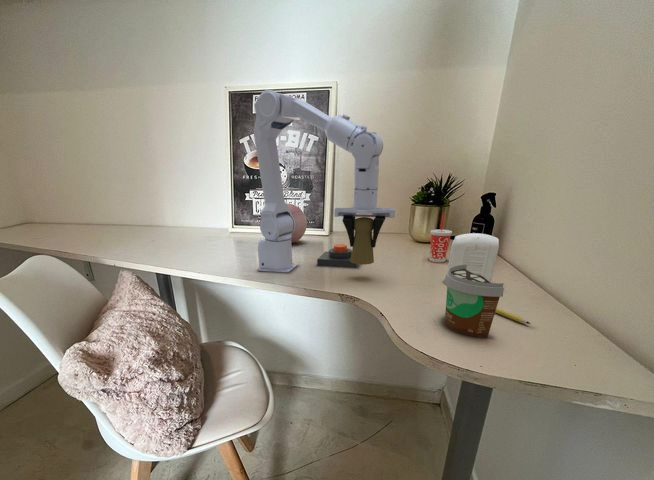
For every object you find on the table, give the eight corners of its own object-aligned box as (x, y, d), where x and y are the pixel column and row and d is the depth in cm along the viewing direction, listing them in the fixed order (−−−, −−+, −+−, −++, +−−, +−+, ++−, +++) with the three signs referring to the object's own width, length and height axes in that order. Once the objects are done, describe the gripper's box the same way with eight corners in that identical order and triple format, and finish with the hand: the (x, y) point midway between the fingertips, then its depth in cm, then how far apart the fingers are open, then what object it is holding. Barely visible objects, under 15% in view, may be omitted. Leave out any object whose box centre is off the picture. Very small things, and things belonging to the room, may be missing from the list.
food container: (427, 313, 67) (433, 265, 63) (456, 312, 67) (465, 263, 63) (457, 343, 56) (467, 286, 52) (492, 340, 56) (505, 284, 52)
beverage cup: (426, 262, 102) (432, 214, 96) (427, 257, 107) (433, 212, 102) (447, 263, 100) (454, 215, 94) (448, 258, 105) (455, 212, 100)
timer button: (332, 252, 101) (332, 246, 100) (335, 249, 104) (335, 244, 104) (345, 253, 100) (345, 247, 99) (347, 250, 103) (347, 244, 103)
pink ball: (314, 243, 131) (314, 203, 125) (281, 249, 123) (279, 206, 117) (294, 238, 142) (292, 201, 136) (262, 242, 134) (259, 203, 128)
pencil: (528, 326, 60) (529, 321, 60) (466, 301, 72) (467, 297, 72) (532, 325, 61) (533, 320, 60) (469, 300, 72) (470, 296, 72)
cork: (373, 264, 83) (376, 219, 79) (349, 263, 84) (350, 219, 80) (374, 258, 88) (377, 216, 84) (351, 258, 90) (353, 215, 85)
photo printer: (489, 282, 83) (499, 232, 78) (492, 288, 80) (503, 236, 75) (445, 279, 86) (452, 231, 81) (446, 285, 82) (453, 234, 77)
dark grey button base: (317, 266, 101) (317, 253, 99) (325, 258, 110) (325, 245, 108) (356, 268, 98) (357, 254, 96) (361, 259, 106) (362, 247, 105)
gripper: (331, 190, 78) (331, 248, 83) (395, 190, 74) (390, 251, 79) (338, 188, 84) (337, 242, 89) (397, 188, 80) (392, 244, 85)
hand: (362, 246), depth 85 cm, fingers closed on cork, 5 cm apart
